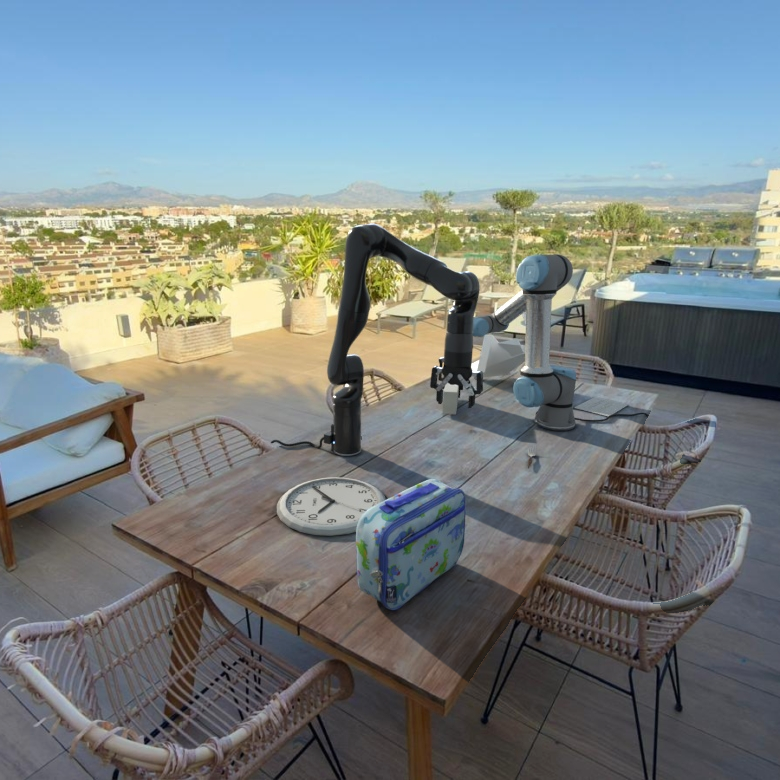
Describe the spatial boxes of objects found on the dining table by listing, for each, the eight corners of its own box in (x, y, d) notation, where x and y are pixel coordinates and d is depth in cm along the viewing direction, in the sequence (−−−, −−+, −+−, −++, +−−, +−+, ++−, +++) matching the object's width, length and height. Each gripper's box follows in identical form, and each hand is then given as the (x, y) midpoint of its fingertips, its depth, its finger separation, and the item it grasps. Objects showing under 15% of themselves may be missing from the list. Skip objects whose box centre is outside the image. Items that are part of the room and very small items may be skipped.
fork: (523, 469, 166) (524, 463, 165) (529, 450, 180) (529, 445, 179) (532, 470, 165) (532, 464, 164) (536, 451, 179) (537, 446, 179)
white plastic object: (490, 420, 264) (470, 397, 239) (471, 347, 286) (451, 319, 261) (562, 396, 252) (549, 369, 227) (536, 322, 274) (521, 290, 249)
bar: (446, 394, 235) (447, 374, 232) (458, 395, 234) (459, 375, 231) (442, 413, 211) (443, 391, 209) (456, 414, 211) (457, 392, 208)
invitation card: (608, 416, 214) (573, 407, 224) (608, 416, 214) (573, 408, 224) (628, 404, 229) (594, 396, 238) (628, 405, 229) (594, 397, 238)
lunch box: (385, 624, 100) (387, 528, 94) (349, 596, 108) (348, 506, 101) (468, 566, 118) (474, 482, 112) (432, 545, 125) (436, 466, 119)
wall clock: (392, 527, 129) (268, 531, 127) (391, 533, 130) (269, 537, 127) (383, 473, 158) (282, 475, 155) (383, 478, 158) (282, 480, 156)
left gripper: (428, 348, 139) (426, 405, 144) (481, 353, 134) (477, 413, 139) (437, 343, 146) (434, 398, 151) (487, 348, 141) (483, 404, 146)
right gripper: (432, 345, 222) (430, 397, 229) (476, 348, 219) (473, 400, 226) (434, 342, 229) (432, 392, 236) (476, 344, 226) (473, 395, 233)
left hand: (455, 405), depth 145 cm, fingers open, 8 cm apart
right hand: (452, 396), depth 231 cm, fingers closed on bar, 5 cm apart
